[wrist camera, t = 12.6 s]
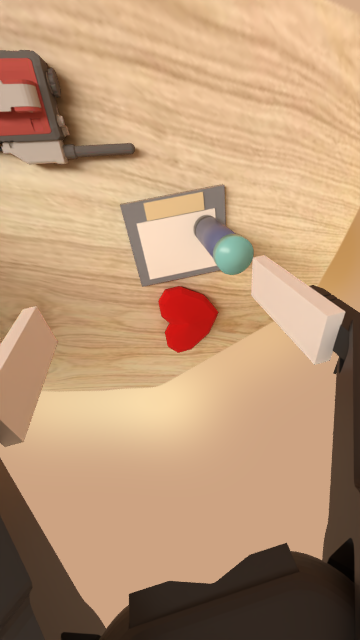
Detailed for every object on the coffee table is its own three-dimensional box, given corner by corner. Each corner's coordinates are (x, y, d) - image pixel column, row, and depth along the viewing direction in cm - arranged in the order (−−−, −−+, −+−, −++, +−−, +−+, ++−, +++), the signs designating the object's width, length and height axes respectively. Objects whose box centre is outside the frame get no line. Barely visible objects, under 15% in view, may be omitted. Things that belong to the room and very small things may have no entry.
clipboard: (142, 284, 39) (142, 287, 38) (120, 204, 32) (120, 205, 31) (225, 266, 39) (227, 269, 38) (222, 184, 32) (224, 185, 32)
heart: (210, 276, 42) (154, 288, 40) (219, 282, 38) (158, 296, 36) (216, 334, 47) (167, 347, 45) (224, 345, 43) (171, 359, 42)
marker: (194, 244, 35) (218, 278, 26) (190, 216, 33) (215, 242, 23) (219, 239, 35) (253, 270, 26) (218, 211, 33) (254, 234, 23)
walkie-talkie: (-40, 169, 27) (136, 159, 30) (-66, 172, 24) (136, 159, 26) (-94, 59, 22) (122, 56, 24) (-137, 40, 19) (121, 39, 21)
